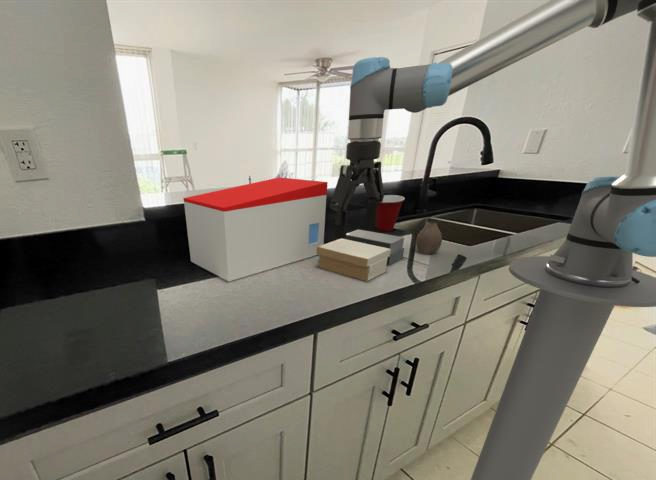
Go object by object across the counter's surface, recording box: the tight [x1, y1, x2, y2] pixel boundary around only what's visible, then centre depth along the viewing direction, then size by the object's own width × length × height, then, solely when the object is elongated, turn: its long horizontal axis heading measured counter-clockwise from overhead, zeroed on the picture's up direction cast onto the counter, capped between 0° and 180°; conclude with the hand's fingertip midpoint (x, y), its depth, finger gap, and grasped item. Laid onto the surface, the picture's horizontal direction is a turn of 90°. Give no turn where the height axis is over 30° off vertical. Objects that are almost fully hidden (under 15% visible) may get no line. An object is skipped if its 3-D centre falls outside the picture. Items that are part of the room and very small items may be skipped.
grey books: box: [345, 229, 405, 266], centre depth 98 cm, size 15×9×6 cm, turn 42°
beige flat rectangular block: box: [316, 238, 391, 267], centre depth 88 cm, size 15×11×2 cm
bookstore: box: [183, 176, 328, 282], centre depth 97 cm, size 21×35×21 cm, turn 127°
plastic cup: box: [376, 194, 406, 232], centre depth 125 cm, size 11×11×12 cm
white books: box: [317, 255, 388, 282], centre depth 89 cm, size 15×9×4 cm, turn 42°
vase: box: [415, 222, 443, 255], centre depth 99 cm, size 7×7×9 cm
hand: (355, 232), depth 86 cm, fingers open, 13 cm apart
